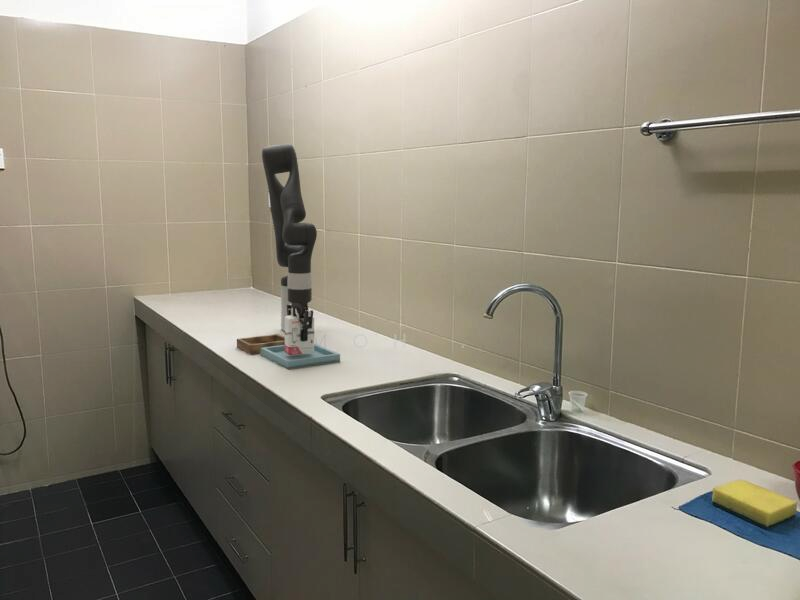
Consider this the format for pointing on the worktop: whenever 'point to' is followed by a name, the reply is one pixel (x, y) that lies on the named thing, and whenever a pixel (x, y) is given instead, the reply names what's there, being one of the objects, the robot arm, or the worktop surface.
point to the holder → (259, 343)
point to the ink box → (297, 337)
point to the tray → (299, 357)
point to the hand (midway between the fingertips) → (299, 338)
